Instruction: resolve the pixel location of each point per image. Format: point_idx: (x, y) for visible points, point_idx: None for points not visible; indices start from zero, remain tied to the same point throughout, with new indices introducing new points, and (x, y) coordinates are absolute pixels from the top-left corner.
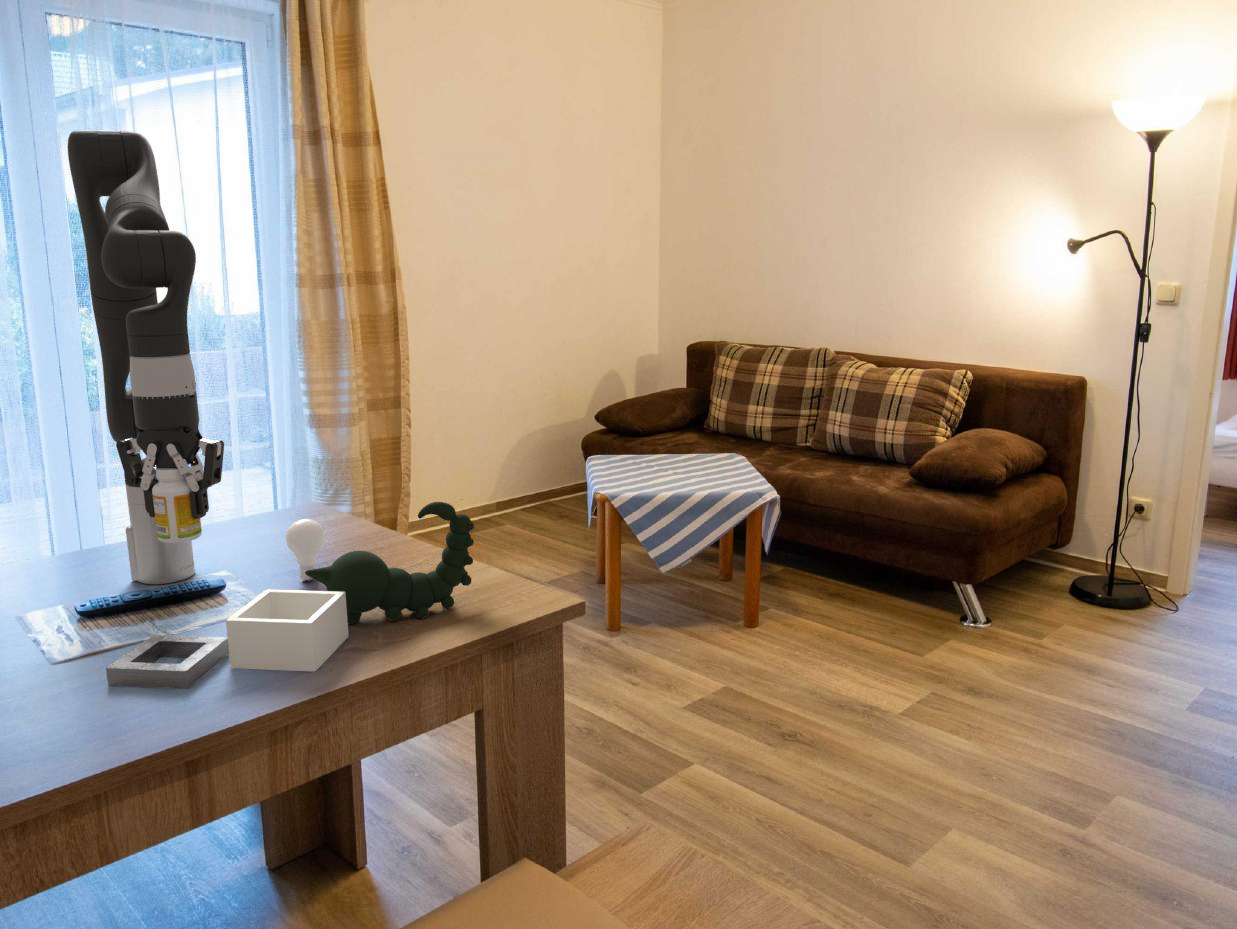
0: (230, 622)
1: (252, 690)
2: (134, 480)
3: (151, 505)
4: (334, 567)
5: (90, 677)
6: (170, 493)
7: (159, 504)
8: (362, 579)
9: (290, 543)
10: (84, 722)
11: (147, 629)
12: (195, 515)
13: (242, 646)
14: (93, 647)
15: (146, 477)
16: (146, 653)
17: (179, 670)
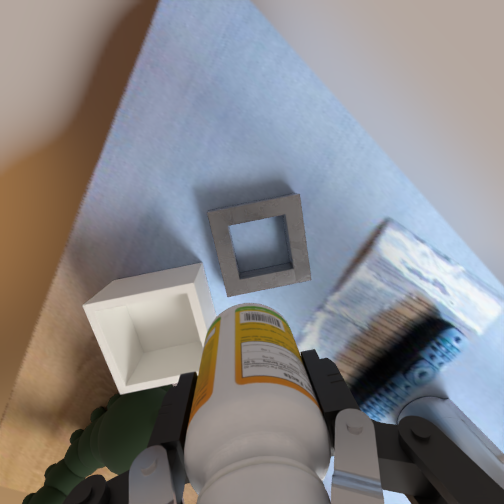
0: (188, 282)
1: (143, 226)
2: (406, 437)
3: (314, 372)
4: (146, 431)
5: (327, 204)
6: (219, 403)
7: (261, 361)
8: (107, 421)
9: None
10: (255, 114)
11: (352, 312)
12: (183, 376)
13: (182, 273)
14: (376, 262)
15: (357, 463)
16: (289, 243)
17: (215, 211)
